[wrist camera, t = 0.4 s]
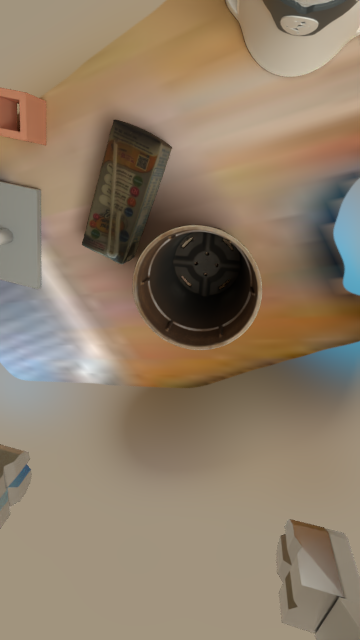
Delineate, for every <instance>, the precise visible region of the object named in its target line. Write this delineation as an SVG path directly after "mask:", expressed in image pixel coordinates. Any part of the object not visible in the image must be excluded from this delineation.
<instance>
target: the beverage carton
mask: <svg viewBox="0 0 360 640" xmlns="http://www.w3.org/2000/svg"><path fill="white" fill-rule="evenodd" d="M171 149H172V147H171V146H170V145H168V144H167V143H166V142H164V141H163V140H161V139H160V138H158V137H157V136H155V135H153V134H151V133H149V132H147V131H145V130H143V129H141V128H139V127H136V126H134V125H131V124H128V123H125V122H122V121H119V120H114V122H113V126H112V129H111V132H110V136H109V141H108V144H107V148H106V152H105V156H104V160H103V163H102V167H101V171H100V175H99V179H98V183H97V187H96V191H95V195H94V199H93V203H92V207H91V211H90V215H89V219H88V223H87V229H86V232H85V234H84V239H83V242H82V245H83V246H85V247H87V248H89V249H91V250H93V251H95V252H97V253H99V254H101V255H103V256H105V257H107V258H110V259H111V260H113V261H115V262H117V263H119V264H124V263H125V262H127V261H129V260H131V259H132V258H134V256H135V253H136V250H137V247H138V244H139V241H140V238H141V235H142V233H143V230H144V227H145V224H146V221H147V218H148V216H149V213H150V210H151V207H152V205H153V202H154V199H155V196H156V193H157V191H158V188H159V185H160V182H161V179H162V176H163V173H164V170H165V167H166V164H167V161H168V158H169V155H170V152H171Z"/></svg>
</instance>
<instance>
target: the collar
mask: <svg viewBox="0 0 360 640" xmlns="http://www.w3.org/2000/svg"><path fill="white" fill-rule="evenodd" d="M17 103H18V104H20V132H18V125H17ZM0 136H4V137H9V138H14V139H19V140H24V141H28V142H33V143H38V144H43V145H46V101H44V100H42V99H40V98H37V97H35V96H33V95H30V94H28V93H25V92H20V91H15V90H9V89H4V88H0Z"/></svg>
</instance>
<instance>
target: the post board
mask: <svg viewBox="0 0 360 640" xmlns="http://www.w3.org/2000/svg"><path fill="white" fill-rule="evenodd" d="M0 280H4V281H8V282H12V283H16V284H20V285H24V286H28V287H32V288H36V289H39V288H41V190H40V189H35V188H30V187H26V186H21V185H17V184H12V183H8V182H3V181H0Z"/></svg>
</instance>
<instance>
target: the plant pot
mask: <svg viewBox="0 0 360 640" xmlns="http://www.w3.org/2000/svg"><path fill="white" fill-rule="evenodd" d="M192 237H194V239H193V240H192V241H191V242H190V243H189V244H188V245H187V246H186V247H185V248H182V245H183V244H184V243H185V242H186V241H187V240H188V239H190V238H192ZM223 238H225V239H226V240H228V242H229V243H230V244H231V245H232V247H233V249H234V251H232V250H230V248H229V247H228V245H227V244H226V243H224V242H223ZM206 252H208V253H209V255H208V256H207V255H206V254H205V253H206ZM195 262H198V265H195V264H194V263H195ZM215 264H219V266H218V267H216V266H215ZM204 273H207V274H208V275H207V276H204ZM181 276H184V277H185V278H186V280H187V281H188V282H189V283H191V284H192V286H191V287H190V286H188V285H187V284H186V283H185V282H184V281H183V279H182V278H181ZM229 279H230V283H229V284H227V285H226V286H225V287H224V288H222V289H219V286H222V285H223V284H224V283H225V282H227V280H229ZM133 296H134V300H135V304H136V307H137V309H138V311H139V313H140V315H141V317H142V319H143V320H144V321H145V323H146V324H147V325H148V326H149V327H150V328H151V329H152V330H153V331H154V332H155V333H156V334H157V335H158V336H159V337H161V338H162V339H164V340H166V341H167V342H169V343H171V344H174V345H176V346H179V347H182V348H186V349H193V350H208V349H214V348H218V347H221V346H224V345H226V344H229V343H230V342H232V341H234V340H235V339H237V338H238V337H240V336H241V335H242V334H243V333H244V332H245V331H246V330H247V329H248V328H249V327H250V325H251V324H252V322H253V321H254V319H255V317H256V315H257V313H258V310H259V307H260V304H261V298H262V282H261V276H260V272H259V269H258V267H257V264H256V262H255V260H254V258H253V257H252V255H251V254H250V252H249V251H248V250H247V249H246V248H245V246H244V245H243V244H242V243H240V242H239V241H238V240H237V239H235V238H234V237H233V236H231V235H229V234H228V233H226V232H225V231H223V230H221V229H218V228H213V227H208V226H201V225H188V226H182V227H178V228H174V229H171V230H169V231H167V232H165V233H163V234H161V235H160V236H158V237H157V238H155V239H154V240H153V241H152V242H151V243H150V244H149V245H148V246H147V247H146V248H145V250H144V251H143V253H142V254H141V256H140V258H139V260H138V262H137V264H136V267H135V271H134V276H133Z"/></svg>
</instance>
